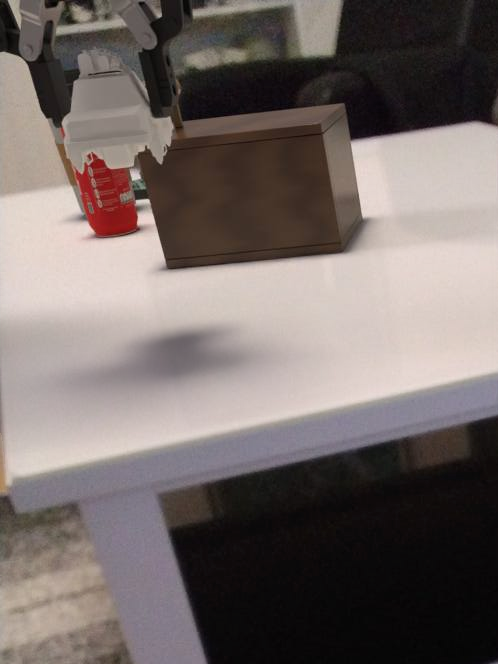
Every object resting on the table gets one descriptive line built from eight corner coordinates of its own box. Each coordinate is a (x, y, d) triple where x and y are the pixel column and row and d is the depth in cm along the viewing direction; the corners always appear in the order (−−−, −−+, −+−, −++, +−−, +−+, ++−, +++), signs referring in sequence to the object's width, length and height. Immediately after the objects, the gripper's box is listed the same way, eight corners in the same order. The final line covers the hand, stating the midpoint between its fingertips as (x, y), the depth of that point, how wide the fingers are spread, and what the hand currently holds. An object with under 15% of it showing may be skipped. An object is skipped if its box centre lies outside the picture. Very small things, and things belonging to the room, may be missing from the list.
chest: (167, 268, 95) (136, 153, 89) (205, 234, 106) (180, 130, 100) (342, 251, 93) (322, 133, 88) (362, 219, 104) (346, 112, 99)
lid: (126, 154, 89) (109, 90, 86) (171, 131, 100) (157, 74, 98) (322, 133, 88) (311, 67, 85) (346, 112, 99) (336, 53, 96)
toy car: (180, 146, 72) (155, 35, 68) (166, 173, 62) (135, 45, 59) (94, 157, 72) (64, 46, 68) (67, 186, 62) (29, 57, 58)
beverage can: (115, 238, 109) (79, 114, 102) (83, 237, 112) (45, 115, 105) (150, 226, 113) (118, 105, 106) (119, 225, 115) (85, 106, 108)
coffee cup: (106, 205, 127) (66, 69, 119) (159, 204, 124) (123, 63, 116) (60, 222, 121) (15, 78, 113) (115, 220, 118) (73, 73, 109)
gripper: (174, -223, 59) (237, 104, 68) (-63, -194, 60) (31, 123, 69) (131, -243, 53) (207, 120, 62) (-132, -210, 54) (-18, 140, 63)
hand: (114, 120), depth 66 cm, fingers closed on toy car, 6 cm apart
